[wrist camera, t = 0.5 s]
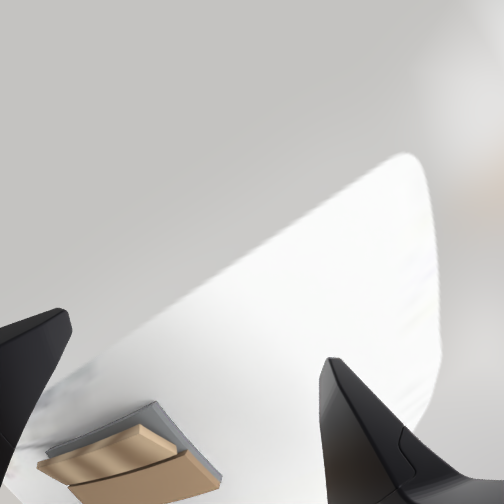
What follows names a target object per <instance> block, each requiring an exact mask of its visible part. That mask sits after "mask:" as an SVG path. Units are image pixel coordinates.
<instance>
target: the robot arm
mask: <svg viewBox="0 0 504 504" xmlns="http://www.w3.org/2000/svg"><path fill="white" fill-rule="evenodd" d="M71 334H72V326H71V322H70V318H69V314H68V312H67V311H66V310H64V309H61V308H55V309H52V310H50V311H46V312H43V313H41V314H38V315H35V316H32V317H29V318H27V319H24V320H21V321H18V322H15V323H12V324H10V325H7V326H4V327H1V328H0V487H1V485H2V482H3V479H4V476H5V473H6V471H7V468H8V465H9V463H10V460H11V458H12V455H13V453H14V450H15V448H16V445H17V443H18V441H19V439H20V436H21V434H22V432H23V430H24V428H25V425H26V423H27V421H28V419H29V417H30V415H31V413H32V411H33V409H34V407H35V405H36V403H37V401H38V399H39V397H40V395H41V394H42V392H43V390H44V388H45V386H46V384H47V382H48V381H49V379H50V377H51V375H52V373H53V372H54V370H55V368H56V366H57V364H58V362H59V360H60V358H61V356H62V354H63V351H64V349H65V347H66V345H67V343H68V341H69V339H70V337H71ZM319 423H320V432H321V440H322V449H323V458H324V468H325V477H326V488H327V499H328V504H504V480H483V479H473V478H469V477H466V476H464V475H462V474H460V473H459V472H458V471H456V470H455V469H454V468H452V467H451V466H450V465H449V464H447V463H446V462H445V461H443V460H442V459H441V458H440V457H438V456H437V455H436V454H435V453H434V452H432V451H431V450H430V449H429V448H428V447H427V446H426V445H424V444H423V443H422V442H421V441H420V440H419V439H418V438H417V437H416V436H415V435H414V434H413V433H412V432H411V431H410V430H409V429H408V428H407V427H406V426H404V424H403V423H402V422H401V421H400V420H399V419H398V418H397V417H396V416H395V415H394V414H393V413H392V412H391V411H390V410H389V409H388V408H387V407H386V406H385V404H384V403H383V402H382V401H381V400H380V399H379V398H378V397H377V396H376V395H375V394H374V393H373V392H372V391H371V390H370V389H369V388H368V387H367V386H366V385H365V384H364V383H363V382H362V381H361V379H360V378H359V377H358V376H357V375H356V374H355V373H354V372H353V371H352V370H351V369H350V368H349V367H348V366H347V365H346V364H345V363H344V362H343V361H342V360H341V359H340V358H335V357H328V358H327V359H326V361H325V363H324V366H323V369H322V371H321V374H320V378H319Z"/></svg>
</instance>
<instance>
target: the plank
mask: <svg viewBox="0 0 504 504" xmlns="http://www.w3.org/2000/svg"><path fill="white" fill-rule="evenodd" d="M174 455H177V447H176V445H175V444H173V443H171V442H169V441H167V440H166V439H164V438H162V437H160V436H159V435H157V434H155V433H154V432H152V431H150V430H149V429H147V428H145V427H144V426H142V425H141V424H138V425H136V426H134V427H131V428H129V429H127V430H124V431H122V432H120V433H117V434H115V435H113V436H110V437H108V438H105V439H103V440H100V441H98V442H95V443H93V444H90V445H87V446H85V447H82V448H79V449H77V450H74V451H71V452H68V453H65V454H62V455H59V456H56V457H53V458H50V459H47V460H43V461H40V462H38V464H37V469H38V470H40V471H42V472H43V473H45V474H47V475H48V476H50V477H52V478H54V479H56V480H57V481H59V482H61V483H63V484H65V485H71V484H76V483H81V482H86V481H91V480H95V479H100V478H104V477H108V476H112V475H116V474H119V473H123V472H126V471H130V470H133V469H136V468H140V467H143V466H146V465H149V464H152V463H155V462H158V461H161V460H163V459H166V458H169V457H172V456H174Z"/></svg>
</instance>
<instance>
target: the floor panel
mask: <svg viewBox="0 0 504 504" xmlns="http://www.w3.org/2000/svg"><path fill="white" fill-rule="evenodd" d="M138 424H141V425H142V426H144V427H145V428H147V429H149V430H150V431H152V432H154V433H155V434H157V435H159V436H160V437H162V438H164V439H166V440H167V441H169V442H171V443H173V444H175V445H176V447H177V455H174V456H172V457H169V458H166V459H163V460H161V461H158V462H155V463H152V464H149V465H146V466H143V467H140V468H136V469H133V470H130V471H126V472H123V473H119V474H116V475H112V476H108V477H104V478H100V479H95V480H91V481H86V482H81V483H76V484H71V485H70V486H68V487H67V488H68V489H69V490H70V491H71V492H72V493H73V494H74V495H75V496H76V497H77V498H78V499H79V500H80V501H81V502H82V503H83V504H166V503H170V502H174V501H178V500H182V499H186V498H190V497H193V496H197V495H200V494H204V493H207V492H210V491H213V490H216V489H219V486H220V483H221V480H222V475H221V474H220V473H219V472H218V471H217V470H216V469H215V468H214V467H213V466H212V465H211V464H210V463H209V462H208V461H207V460H206V459H205V458H204V457H203V456H202V455H201V453H200V452H199V451H198V450H197V449H196V448H195V447H194V446H193V445H192V444H191V442H190V441H189V440H188V439H187V438H186V437H185V436H184V435H183V433H182V432H181V431H180V430H179V429H178V427H177V426H176V425H175V424H174V423H173V421H172V420H171V419H170V418H169V417H168V415H167V414H166V413H165V411H164V410H163V409H162V408H161V406H160V405H159V404H158V402H157V401H155V402H153V403H152V404H150V405H148V406H146V407H144V408H142V409H140V410H138V411H136V412H133V413H131V414H129V415H127V416H125V417H123V418H121V419H119V420H117V421H115V422H112V423H110V424H108V425H106V426H104V427H101V428H99V429H97V430H95V431H92V432H90V433H88V434H85V435H83V436H81V437H78V438H76V439H73V440H71V441H68V442H66V443H63V444H61V445H58V446H56V447H53V448H50V449H49V450H48V451H46V452H45V453H46V454H47V455H48V457H49V458H53V457H56V456H59V455H62V454H65V453H68V452H71V451H74V450H77V449H79V448H82V447H85V446H87V445H90V444H93V443H95V442H98V441H100V440H103V439H105V438H108V437H110V436H113V435H115V434H117V433H120V432H122V431H124V430H127V429H129V428H131V427H134V426H136V425H138Z"/></svg>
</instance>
